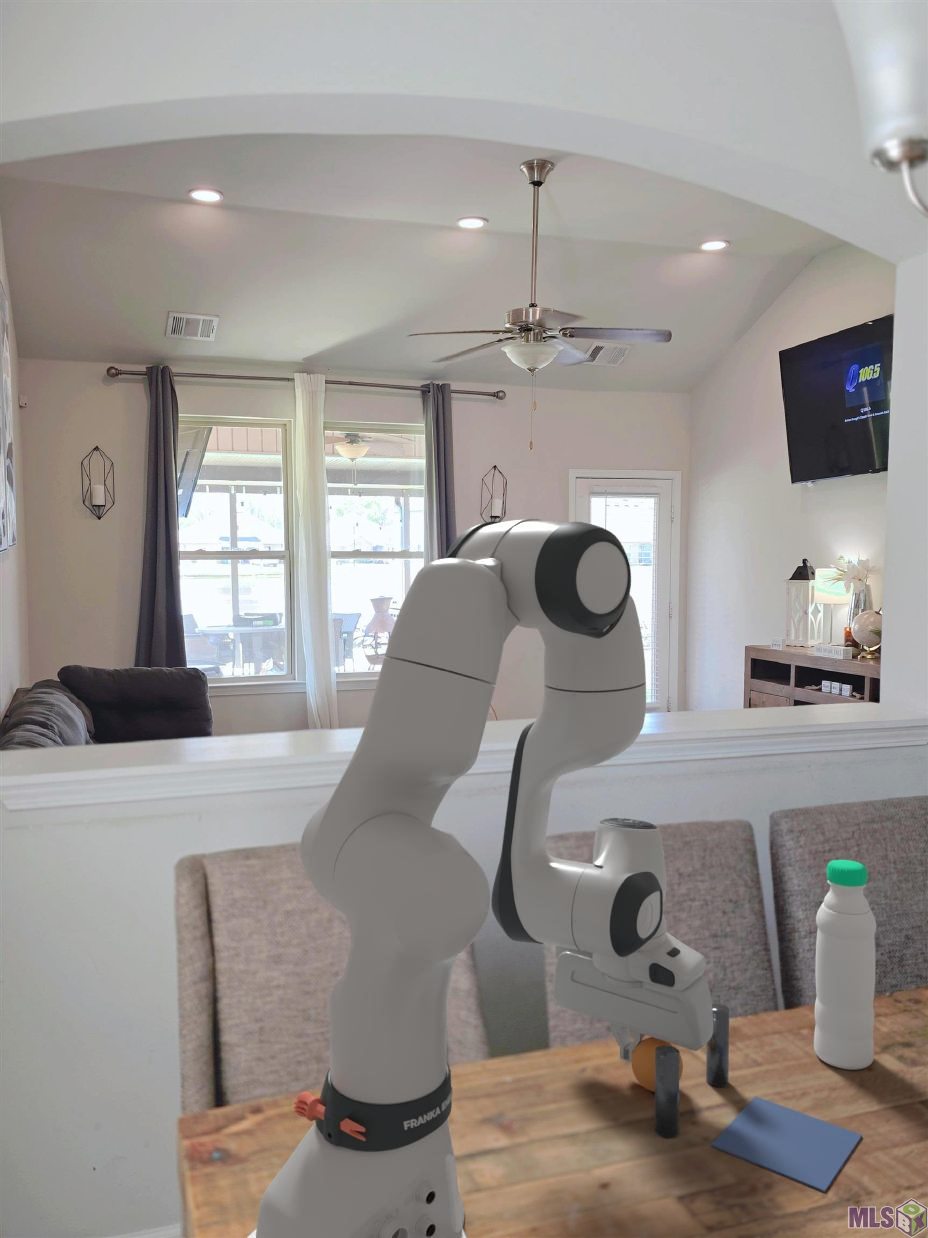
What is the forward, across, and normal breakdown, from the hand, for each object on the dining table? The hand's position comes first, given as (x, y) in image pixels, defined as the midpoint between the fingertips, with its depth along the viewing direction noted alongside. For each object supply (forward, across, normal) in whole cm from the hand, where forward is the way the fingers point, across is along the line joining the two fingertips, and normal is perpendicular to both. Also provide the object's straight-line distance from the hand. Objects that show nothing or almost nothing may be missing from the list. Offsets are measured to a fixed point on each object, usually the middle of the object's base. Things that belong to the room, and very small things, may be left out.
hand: (629, 1059), depth 115 cm
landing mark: (+2, +20, -2) cm, 20 cm away
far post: (+2, +9, +5) cm, 11 cm away
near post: (+2, +9, -8) cm, 12 cm away
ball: (-1, +4, 0) cm, 4 cm away
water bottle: (+3, +19, +20) cm, 28 cm away
